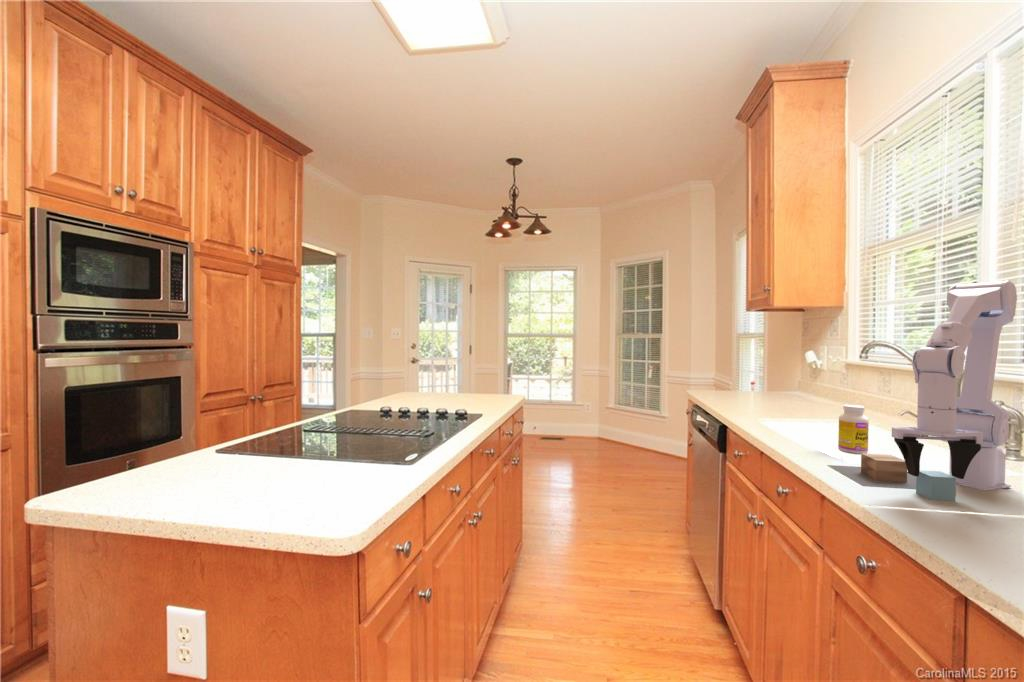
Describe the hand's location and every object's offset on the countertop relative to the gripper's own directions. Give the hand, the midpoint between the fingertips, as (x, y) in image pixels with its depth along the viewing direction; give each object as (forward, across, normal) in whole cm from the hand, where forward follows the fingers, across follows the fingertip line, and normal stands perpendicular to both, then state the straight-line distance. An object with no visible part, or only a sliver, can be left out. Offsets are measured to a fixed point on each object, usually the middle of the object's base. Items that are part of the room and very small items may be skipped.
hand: (935, 476), depth 92 cm
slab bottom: (+4, -2, +12) cm, 13 cm away
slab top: (+2, -2, +12) cm, 13 cm away
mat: (+4, -2, +12) cm, 13 cm away
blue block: (+4, 0, 0) cm, 5 cm away
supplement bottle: (+4, +4, +38) cm, 38 cm away
